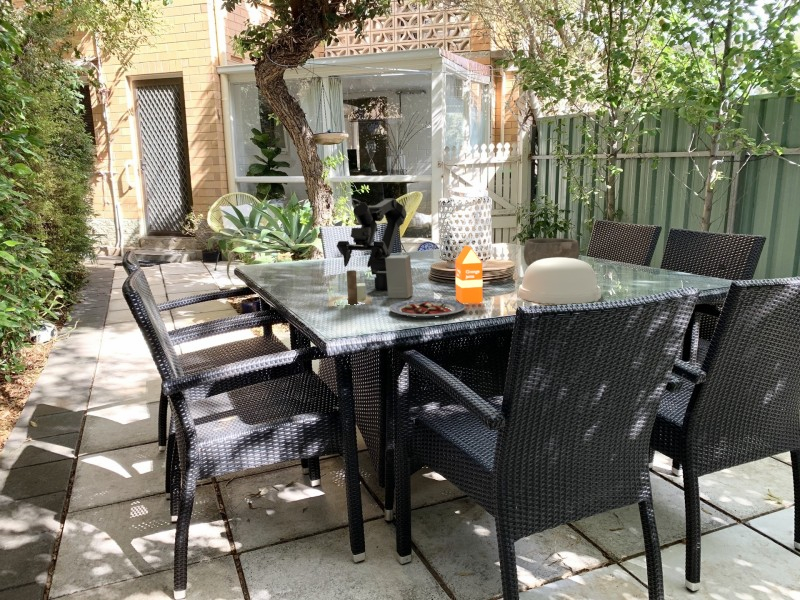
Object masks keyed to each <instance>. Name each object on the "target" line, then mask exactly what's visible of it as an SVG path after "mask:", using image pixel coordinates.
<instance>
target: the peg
mask: <svg viewBox="0 0 800 600" xmlns="http://www.w3.org/2000/svg"><path fill="white" fill-rule="evenodd" d="M357 279H358V278H357V270H351V269H350V270H347V271H346V282H347V284H346V285H347V296H348V304H350V305H354V304H358V301H357V283H358V282H357Z"/></svg>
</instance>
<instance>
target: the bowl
mask: <svg viewBox="0 0 800 600" xmlns="http://www.w3.org/2000/svg"><path fill="white" fill-rule="evenodd" d="M579 246H580V245H579V241H578V240H577V239H573V238H572V239H571V238H557V237H556V238H555V237H554V238H552V237H550V238H549V237H548V238H547V237H546V238H545V237H543V238H542V237H541V238H530V239H529V238H528V239H527V240H526V241H525V243H524V246H523V247H524V248H523V259H524V262H525V264H526V266H527V268H528V267H529V266H530V265H531V264H532V263H534V262H535V261H538V260H541V259H546V258H557V257H562V258H573V259H578V260H579V258H580V257H579V256H580V247H579Z"/></svg>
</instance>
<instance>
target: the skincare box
mask: <svg viewBox="0 0 800 600" xmlns="http://www.w3.org/2000/svg"><path fill="white" fill-rule="evenodd" d="M385 262H386V274H387V287H388V290H387V297H388V299H390V298H391V299H392V298H394V299H408V298H410V297H412V296H413V295H414V290H413V277H412V276H413V275H412V263H411V255H410V254H408V255H407V254H406V255H404V254H403V255H390V256H389V257H387V258H385Z"/></svg>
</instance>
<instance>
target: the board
mask: <svg viewBox="0 0 800 600" xmlns="http://www.w3.org/2000/svg"><path fill="white" fill-rule="evenodd" d="M342 298H343V299H345V298H346V299H347V300H348V295H346V296H344V295H343V296H329V297H328V301H327V307H328V308H329V307H330V308H332V306H334V302H335V301H336V300H337V301H338V300H341V299H342ZM337 301H336V302H337ZM357 301H358V302H361V303H365V305H364V306H372V305H373V300H372V296H371V294H369V295H368V294H366V299H357ZM358 304H359V303H358ZM335 305H336V303H335ZM338 305H339V304H338ZM356 305H357V304H356ZM357 306H358V305H357Z"/></svg>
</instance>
